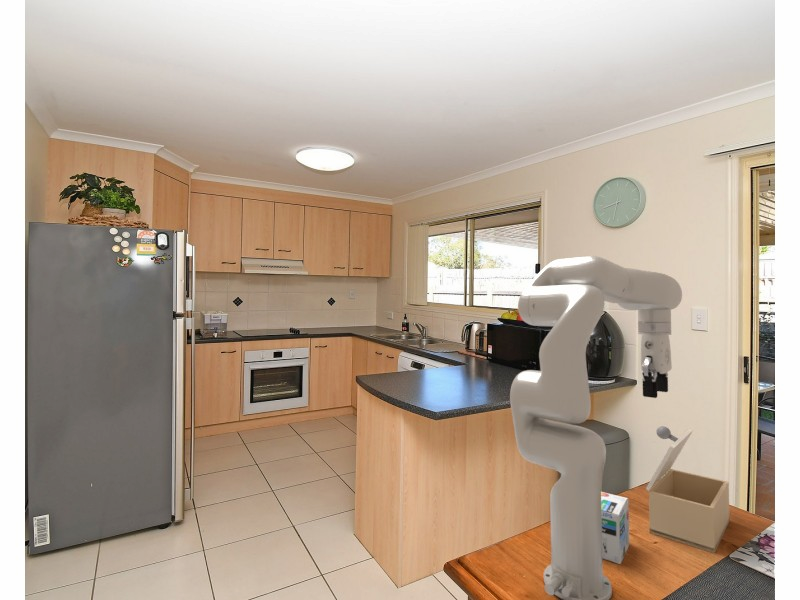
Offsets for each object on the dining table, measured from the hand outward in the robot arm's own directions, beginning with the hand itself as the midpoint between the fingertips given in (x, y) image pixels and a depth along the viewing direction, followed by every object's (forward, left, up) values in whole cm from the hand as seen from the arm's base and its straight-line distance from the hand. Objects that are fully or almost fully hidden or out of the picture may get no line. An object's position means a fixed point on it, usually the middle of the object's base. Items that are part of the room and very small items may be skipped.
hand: (655, 394), depth 114 cm
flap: (0, -3, -16) cm, 17 cm away
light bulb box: (-24, +4, -32) cm, 40 cm away
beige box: (0, -7, -32) cm, 33 cm away
